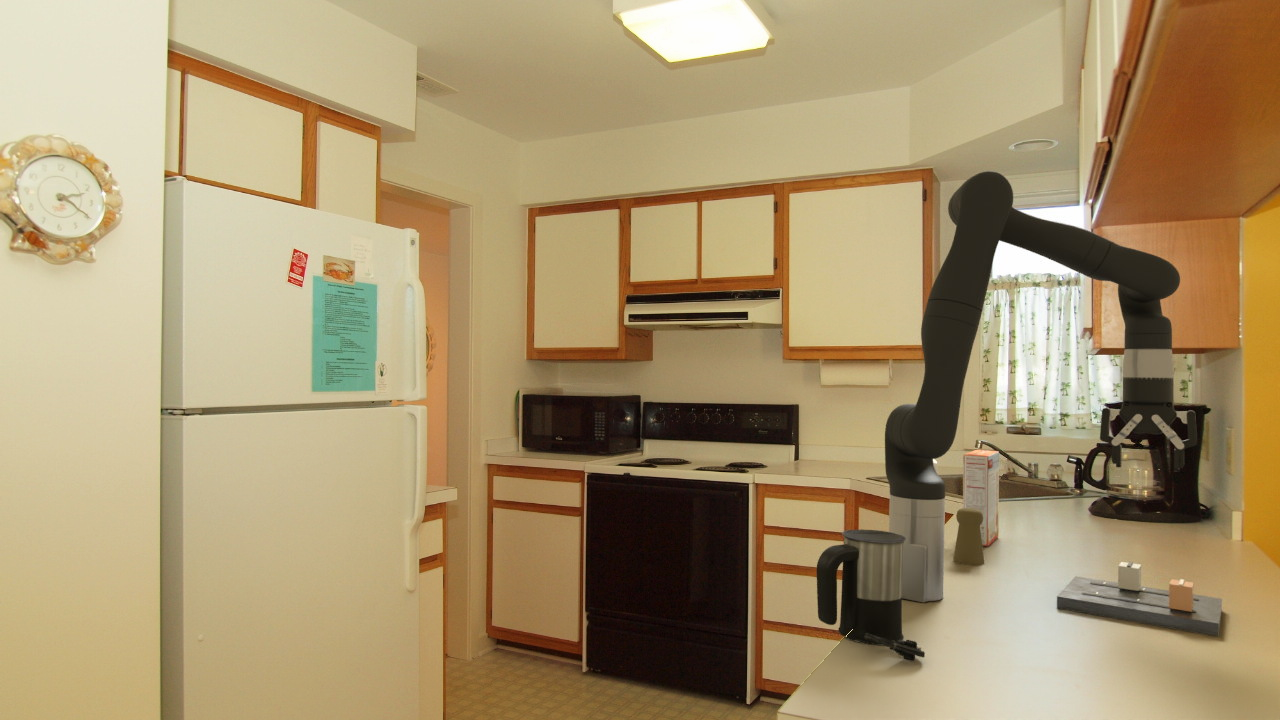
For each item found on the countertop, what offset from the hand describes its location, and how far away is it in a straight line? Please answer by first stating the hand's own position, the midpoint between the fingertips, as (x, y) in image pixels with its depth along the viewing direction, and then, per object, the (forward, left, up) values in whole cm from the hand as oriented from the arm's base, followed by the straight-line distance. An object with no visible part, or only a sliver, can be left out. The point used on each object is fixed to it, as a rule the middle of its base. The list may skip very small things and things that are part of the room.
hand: (1147, 469), depth 141 cm
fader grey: (-1, +2, -21) cm, 21 cm away
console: (-6, 0, -23) cm, 24 cm away
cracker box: (+36, +36, -23) cm, 56 cm away
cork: (+11, +32, -23) cm, 41 cm away
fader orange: (-10, -6, -21) cm, 24 cm away
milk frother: (-53, +27, -23) cm, 64 cm away
